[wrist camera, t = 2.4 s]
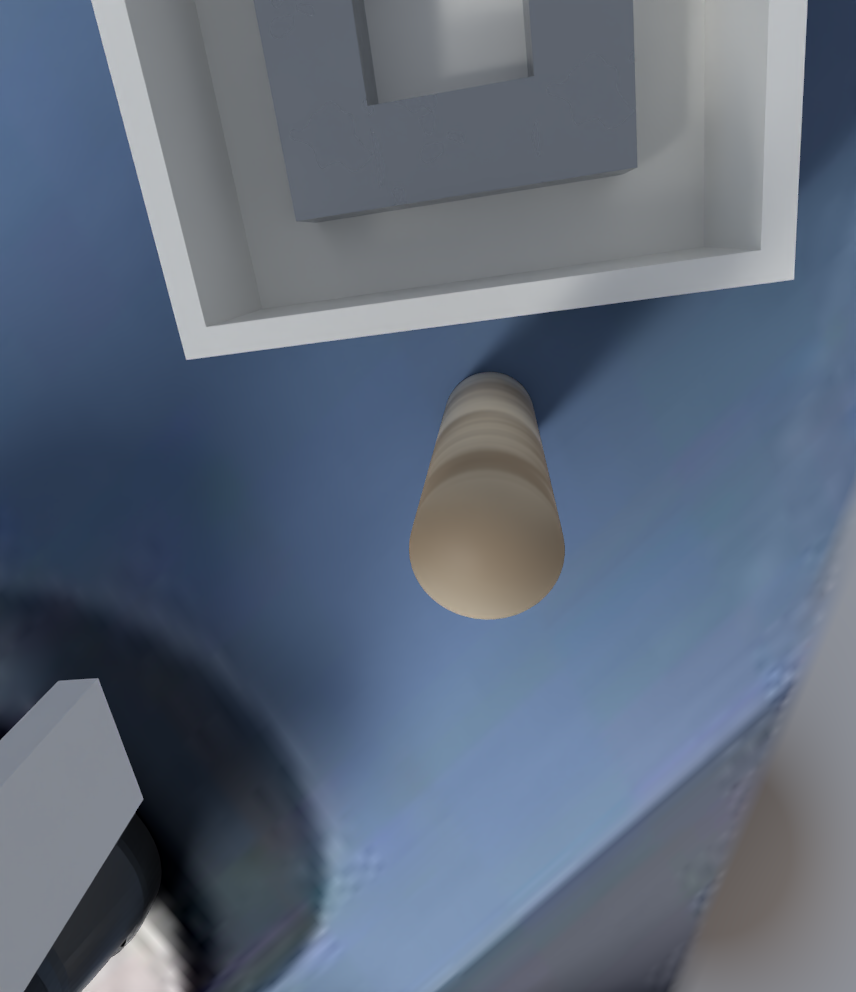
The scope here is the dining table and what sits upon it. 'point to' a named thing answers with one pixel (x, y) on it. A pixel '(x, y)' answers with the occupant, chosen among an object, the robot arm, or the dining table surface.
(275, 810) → the dining table surface
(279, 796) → the dining table surface
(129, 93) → the box
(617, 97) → the bore plate
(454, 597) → the peg
